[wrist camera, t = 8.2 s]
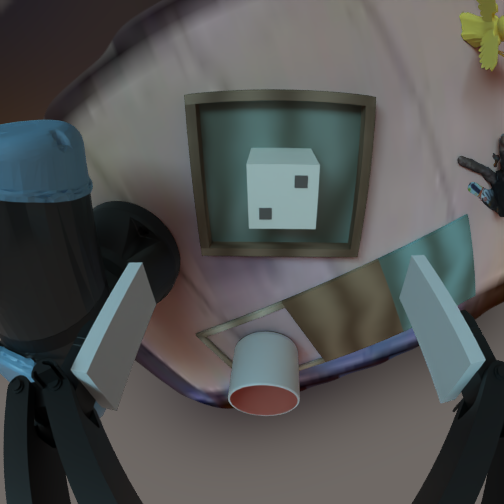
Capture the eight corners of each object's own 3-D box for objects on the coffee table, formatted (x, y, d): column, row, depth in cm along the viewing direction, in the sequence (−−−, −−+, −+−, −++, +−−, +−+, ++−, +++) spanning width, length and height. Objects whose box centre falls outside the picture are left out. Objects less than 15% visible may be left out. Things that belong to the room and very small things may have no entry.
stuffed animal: (535, 199, 27) (520, 246, 24) (484, 187, 35) (459, 226, 32) (533, 123, 21) (524, 155, 18) (475, 116, 29) (449, 144, 26)
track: (250, 382, 52) (250, 384, 52) (196, 333, 45) (195, 335, 45) (474, 293, 38) (475, 295, 37) (466, 214, 31) (468, 215, 30)
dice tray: (205, 246, 36) (201, 255, 34) (189, 93, 26) (184, 95, 24) (353, 247, 35) (357, 257, 33) (369, 95, 25) (376, 97, 23)
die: (253, 202, 32) (248, 229, 27) (251, 147, 29) (246, 164, 23) (309, 203, 31) (316, 230, 26) (311, 148, 28) (320, 165, 23)
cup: (242, 367, 49) (236, 416, 41) (228, 329, 44) (219, 385, 36) (299, 363, 48) (301, 414, 39) (294, 324, 42) (297, 381, 34)
